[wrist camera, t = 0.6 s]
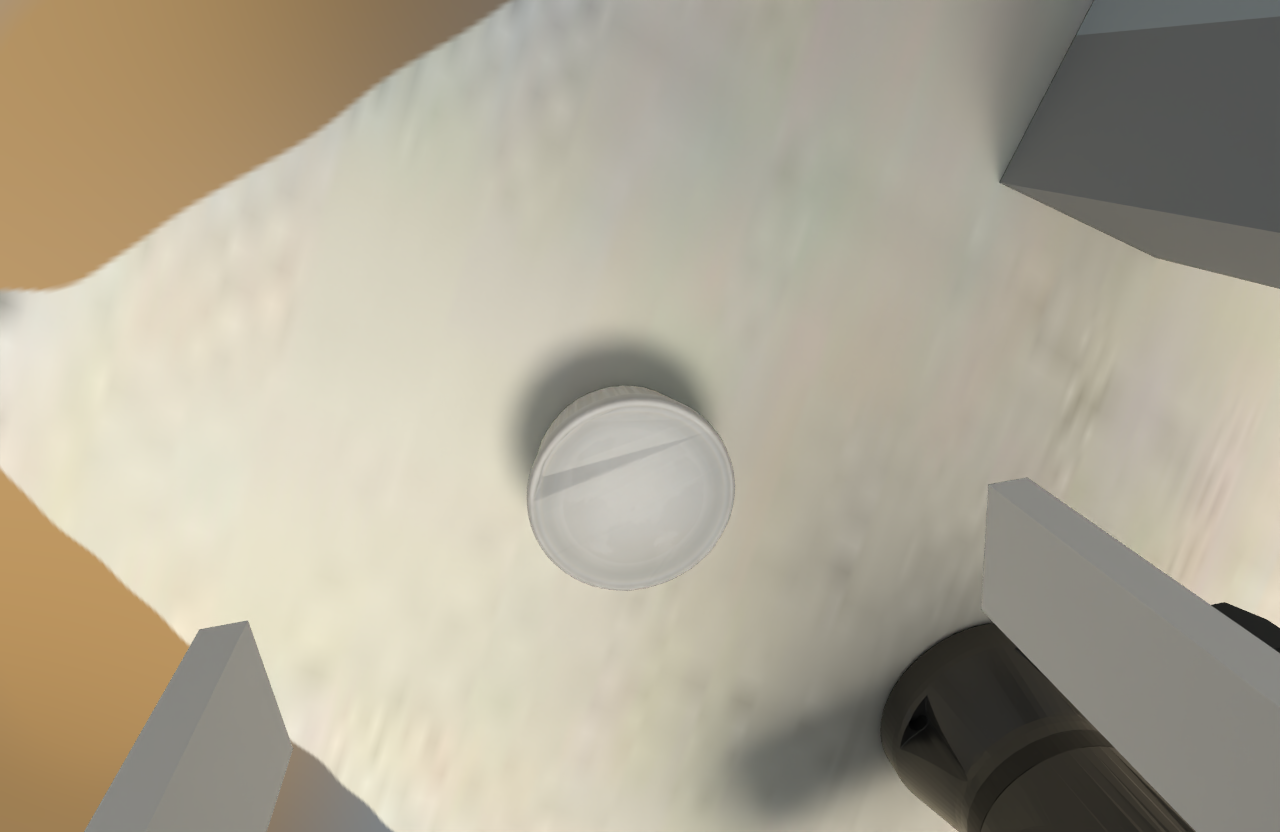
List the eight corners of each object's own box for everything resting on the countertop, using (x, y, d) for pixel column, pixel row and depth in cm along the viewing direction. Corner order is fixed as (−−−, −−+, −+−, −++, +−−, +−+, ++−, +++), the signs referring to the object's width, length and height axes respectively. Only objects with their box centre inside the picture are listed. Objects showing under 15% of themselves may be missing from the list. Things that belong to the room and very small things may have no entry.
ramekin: (604, 328, 44) (619, 357, 39) (749, 437, 48) (779, 476, 43) (482, 480, 46) (482, 526, 41) (631, 572, 50) (647, 623, 45)
